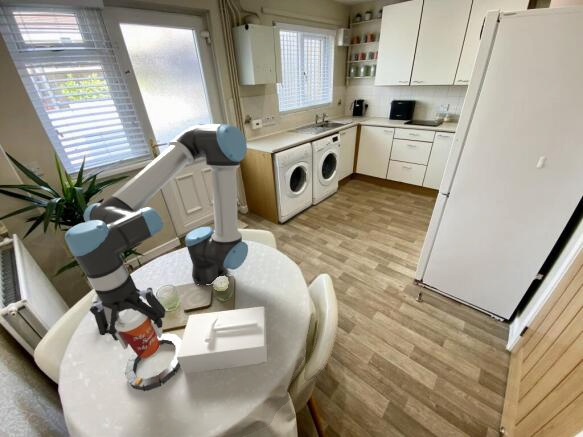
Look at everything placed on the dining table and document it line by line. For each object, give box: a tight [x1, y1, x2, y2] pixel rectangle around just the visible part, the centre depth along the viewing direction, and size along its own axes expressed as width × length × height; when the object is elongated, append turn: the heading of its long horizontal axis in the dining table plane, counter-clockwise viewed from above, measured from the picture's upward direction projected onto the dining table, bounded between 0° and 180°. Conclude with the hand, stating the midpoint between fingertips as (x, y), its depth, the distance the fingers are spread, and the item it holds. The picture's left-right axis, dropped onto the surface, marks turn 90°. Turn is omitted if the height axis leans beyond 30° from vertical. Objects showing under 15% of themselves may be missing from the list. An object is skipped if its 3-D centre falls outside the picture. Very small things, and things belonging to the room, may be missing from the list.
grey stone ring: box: [124, 333, 182, 392], centre depth 75 cm, size 16×16×3 cm
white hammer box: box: [176, 306, 268, 375], centre depth 77 cm, size 14×25×11 cm, turn 96°
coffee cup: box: [115, 309, 161, 359], centre depth 68 cm, size 8×8×15 cm
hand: (144, 339), depth 70 cm, fingers closed on coffee cup, 8 cm apart
